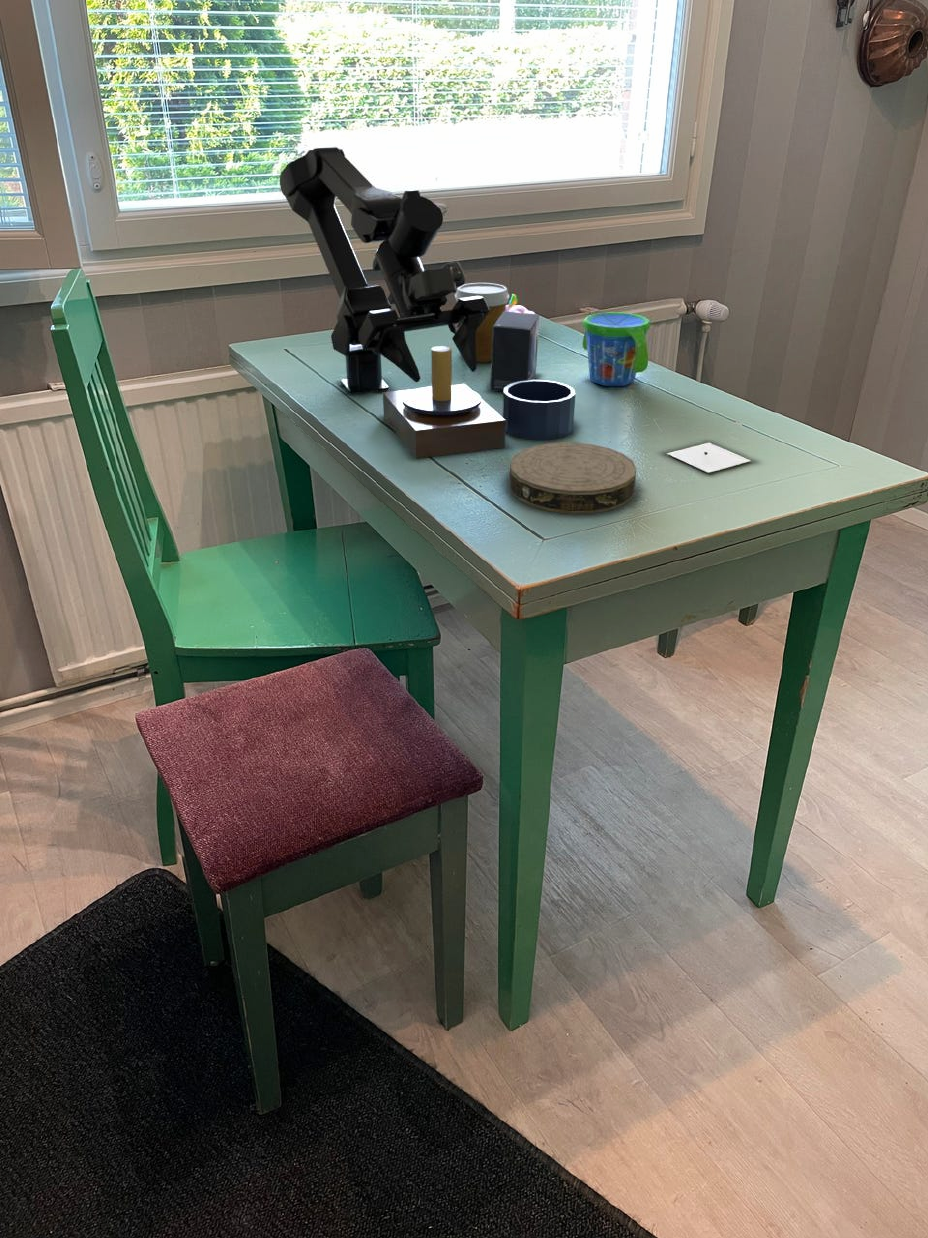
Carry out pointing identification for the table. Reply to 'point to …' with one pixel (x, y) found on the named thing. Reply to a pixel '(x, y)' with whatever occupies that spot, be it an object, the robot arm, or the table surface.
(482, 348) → the disposable coffee cup
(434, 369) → the lid
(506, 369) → the small box
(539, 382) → the tin
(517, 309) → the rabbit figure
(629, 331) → the snack cup
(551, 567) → the table surface
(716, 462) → the coaster
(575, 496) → the brown flat disc
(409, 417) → the block
